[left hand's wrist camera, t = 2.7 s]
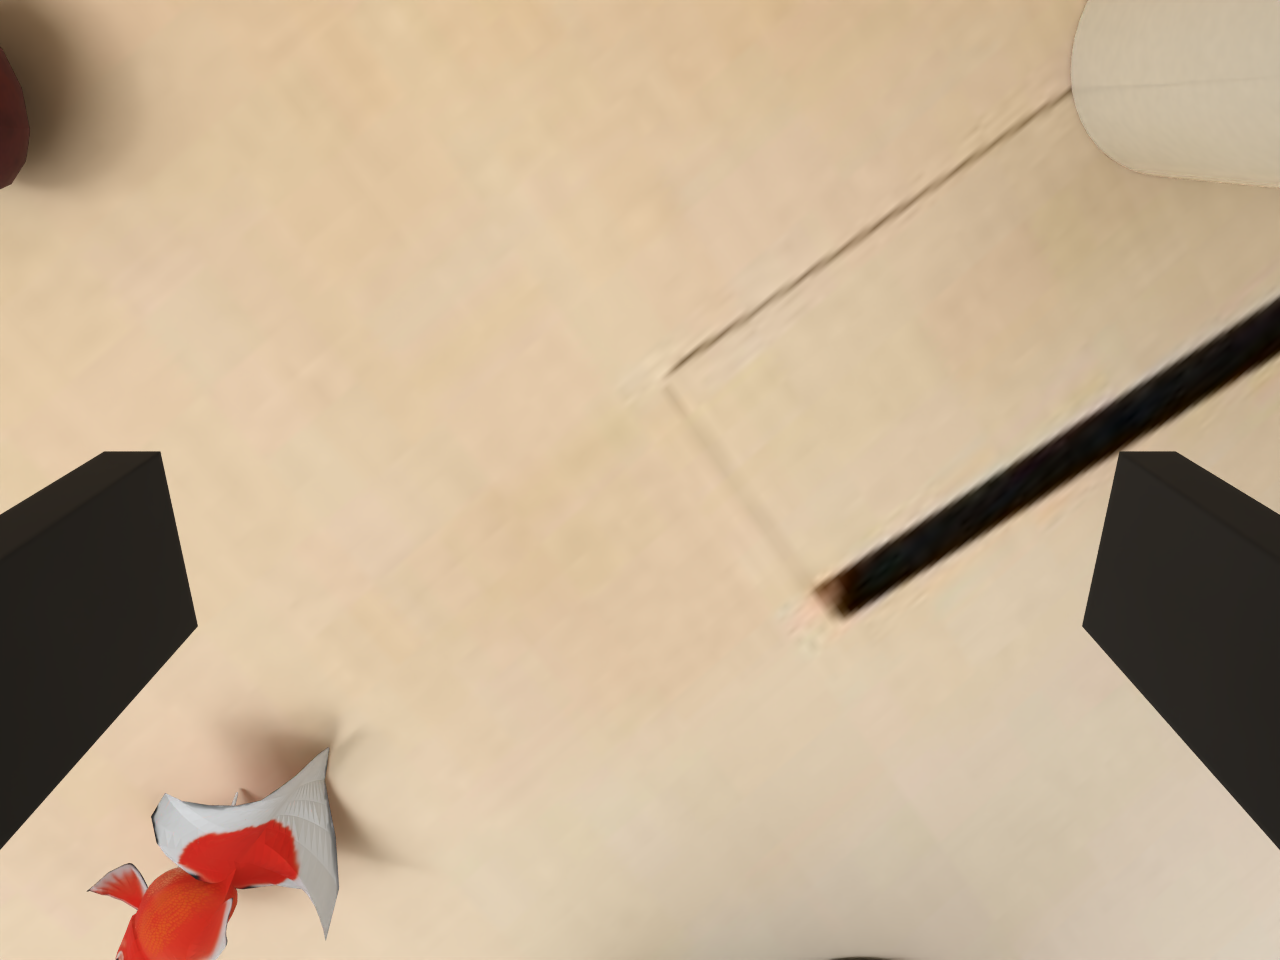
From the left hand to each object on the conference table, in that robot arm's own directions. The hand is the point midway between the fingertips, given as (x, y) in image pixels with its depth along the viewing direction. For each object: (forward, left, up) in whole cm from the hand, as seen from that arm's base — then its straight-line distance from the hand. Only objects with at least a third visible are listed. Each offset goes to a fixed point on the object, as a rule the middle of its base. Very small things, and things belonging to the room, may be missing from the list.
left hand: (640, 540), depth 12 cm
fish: (-30, +22, -28) cm, 47 cm away
